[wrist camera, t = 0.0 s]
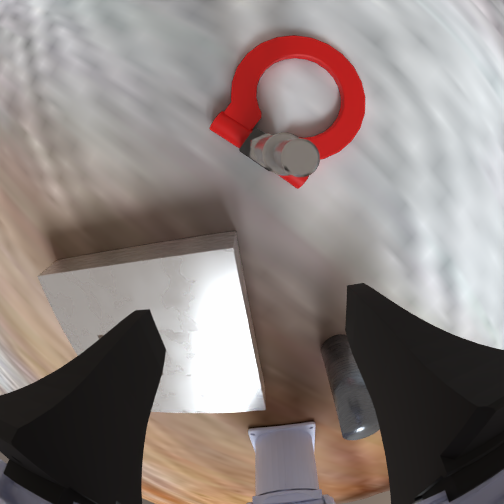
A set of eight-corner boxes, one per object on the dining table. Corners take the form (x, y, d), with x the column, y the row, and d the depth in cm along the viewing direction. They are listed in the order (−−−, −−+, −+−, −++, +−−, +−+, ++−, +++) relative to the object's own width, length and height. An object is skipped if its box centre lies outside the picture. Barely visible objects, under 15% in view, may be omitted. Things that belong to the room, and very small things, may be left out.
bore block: (264, 385, 25) (265, 409, 23) (121, 388, 26) (113, 407, 24) (235, 230, 19) (233, 248, 16) (56, 260, 20) (37, 276, 17)
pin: (351, 355, 24) (379, 433, 16) (320, 361, 24) (340, 443, 16) (354, 332, 23) (387, 413, 15) (320, 338, 23) (344, 424, 15)
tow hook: (280, 20, 14) (197, 123, 16) (331, -111, 2) (103, 85, 4) (379, 94, 16) (304, 195, 18) (530, 67, 4) (407, 293, 6)
